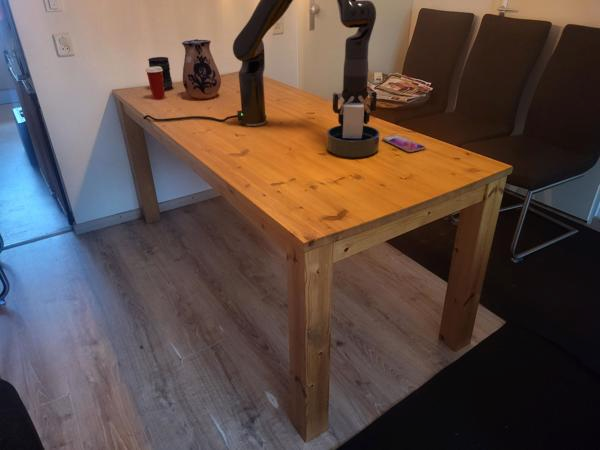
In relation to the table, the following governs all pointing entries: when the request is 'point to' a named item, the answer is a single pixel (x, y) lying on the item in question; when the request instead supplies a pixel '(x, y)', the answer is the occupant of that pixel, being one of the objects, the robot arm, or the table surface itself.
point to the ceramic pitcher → (200, 70)
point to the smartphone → (403, 143)
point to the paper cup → (156, 82)
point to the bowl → (353, 142)
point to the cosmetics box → (353, 120)
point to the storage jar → (165, 67)
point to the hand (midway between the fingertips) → (353, 124)
